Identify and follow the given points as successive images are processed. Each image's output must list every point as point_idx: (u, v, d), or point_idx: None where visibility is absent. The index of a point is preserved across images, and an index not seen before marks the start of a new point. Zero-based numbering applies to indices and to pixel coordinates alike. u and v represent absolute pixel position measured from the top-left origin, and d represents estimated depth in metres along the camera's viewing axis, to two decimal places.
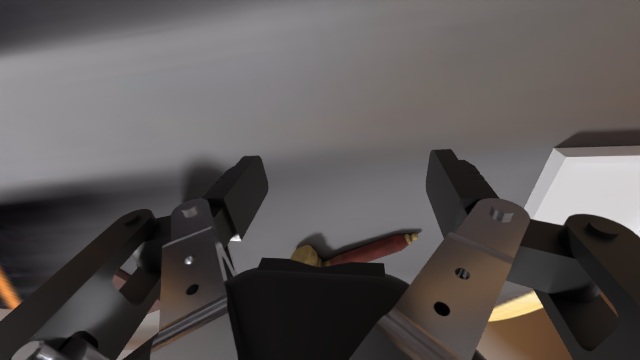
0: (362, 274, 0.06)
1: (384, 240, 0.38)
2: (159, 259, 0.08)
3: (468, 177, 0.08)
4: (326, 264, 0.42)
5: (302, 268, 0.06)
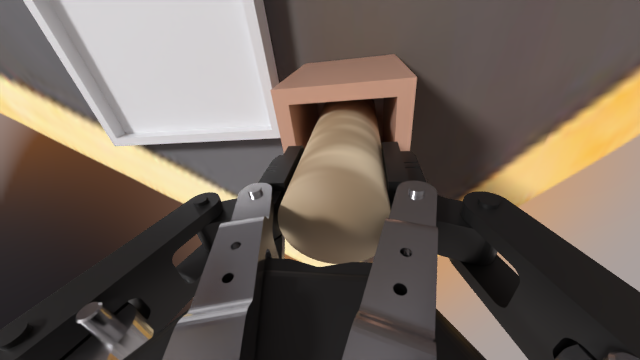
0: (362, 274, 0.06)
1: None
2: None
3: (402, 164, 0.09)
4: None
5: (302, 268, 0.06)
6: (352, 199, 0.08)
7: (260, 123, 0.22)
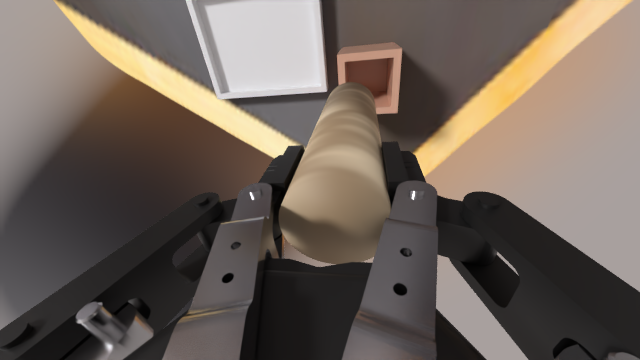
0: (362, 274, 0.06)
1: None
2: None
3: (402, 164, 0.09)
4: None
5: (302, 268, 0.06)
6: (353, 199, 0.08)
7: (312, 83, 0.37)
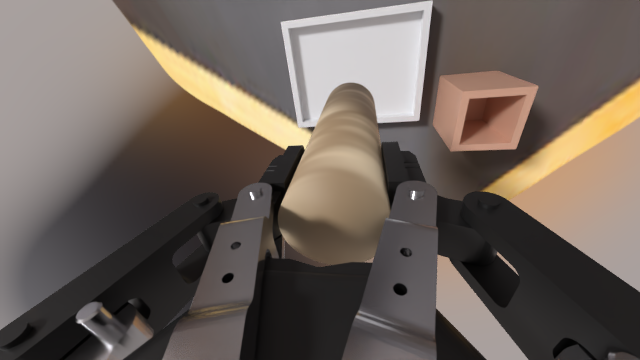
0: (362, 274, 0.06)
1: None
2: None
3: (402, 164, 0.09)
4: None
5: (301, 268, 0.06)
6: (352, 200, 0.08)
7: (402, 112, 0.35)
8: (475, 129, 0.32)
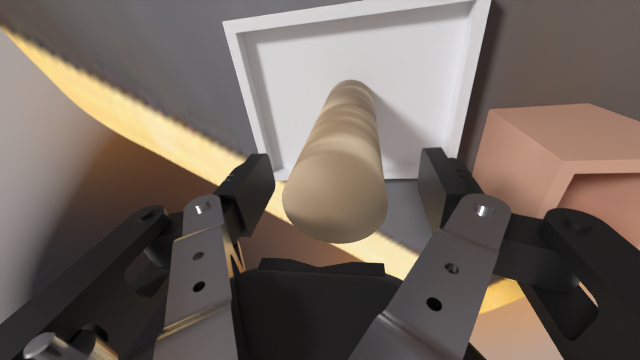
0: (362, 274, 0.06)
1: None
2: (172, 255, 0.08)
3: (456, 174, 0.08)
4: None
5: (302, 268, 0.06)
6: (350, 180, 0.08)
7: None
8: None
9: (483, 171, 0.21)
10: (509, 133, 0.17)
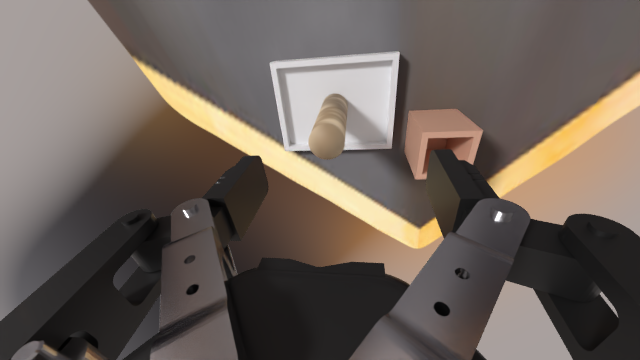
0: (362, 274, 0.06)
1: None
2: (159, 259, 0.08)
3: (468, 177, 0.08)
4: None
5: (302, 268, 0.06)
6: (332, 132, 0.25)
7: (377, 140, 0.40)
8: None
9: (407, 144, 0.39)
10: (413, 122, 0.35)
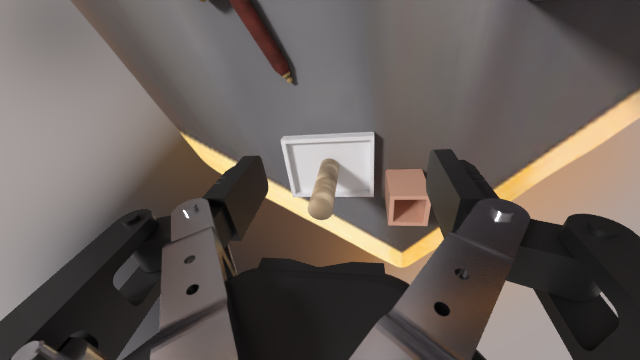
0: (362, 274, 0.06)
1: (280, 52, 0.40)
2: (159, 259, 0.08)
3: (468, 177, 0.08)
4: None
5: (301, 268, 0.06)
6: (323, 204, 0.38)
7: (362, 189, 0.52)
8: (407, 207, 0.49)
9: (385, 194, 0.51)
10: (387, 182, 0.47)
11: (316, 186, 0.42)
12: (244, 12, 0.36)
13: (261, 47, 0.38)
